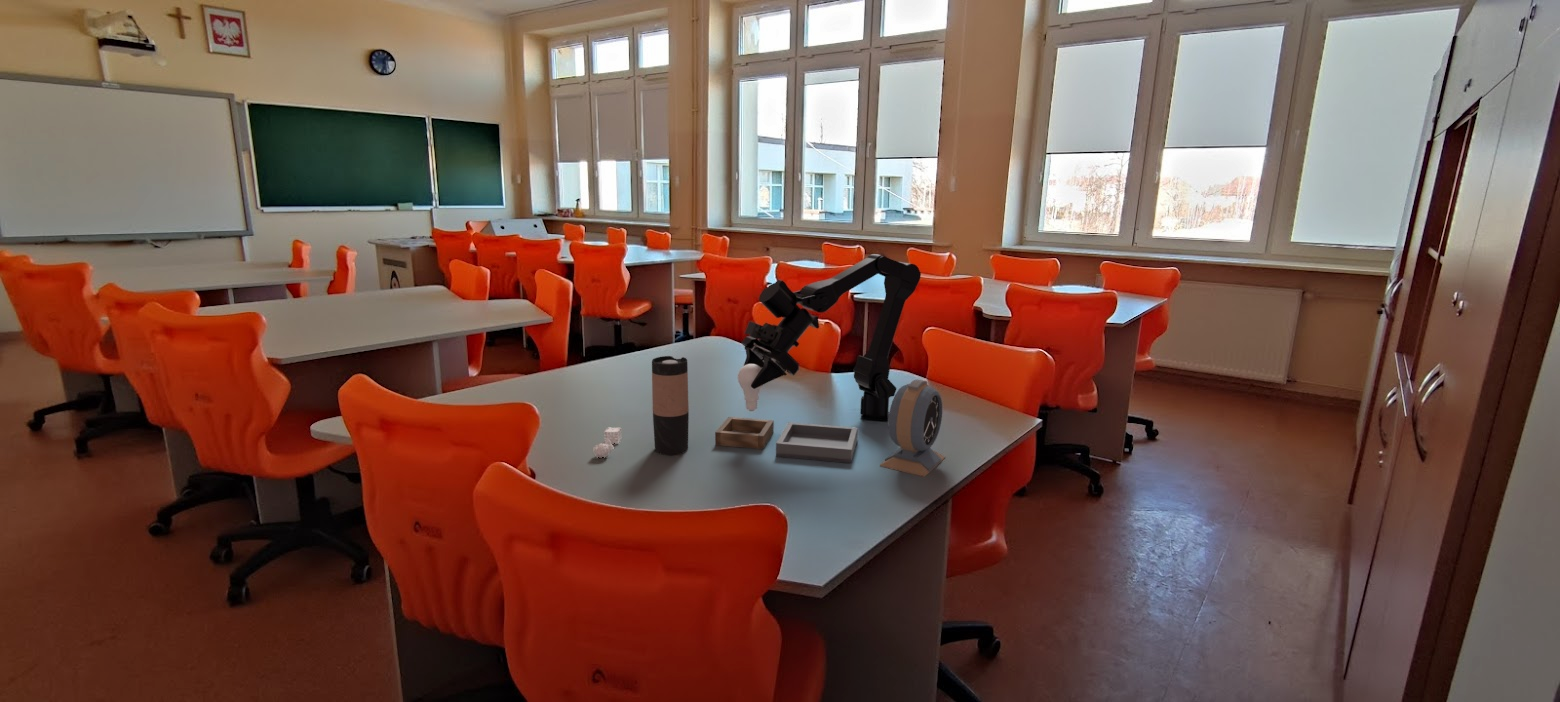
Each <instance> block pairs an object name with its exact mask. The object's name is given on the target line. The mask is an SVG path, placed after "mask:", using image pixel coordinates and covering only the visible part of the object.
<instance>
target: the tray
mask: <svg viewBox="0 0 1560 702" xmlns="http://www.w3.org/2000/svg"><path fill="white" fill-rule="evenodd" d="M858 429H859V428H858V427H853V426H851V427H850V426H841V425H830V424H829V425H827V424H826V425H825V424H817V423H815V424H814V423H801V422H791V421H790V422H787V424H786V426H785V427H784V429H783V430H782V432H781V434H780V435H779V437H778V440H777V441H776V442H775V443H776V444H775V457H777V458H778V457H779V458H786V459H787V458H788V459H789V458H790V459H800V460H810V461H823V462H824V461H825V462H834V463H844V464H845V463H846V464H852V461H853V457H854V454H855V449H856V446H857V442H858Z"/></svg>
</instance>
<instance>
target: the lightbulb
mask: <svg viewBox="0 0 1560 702" xmlns="http://www.w3.org/2000/svg"><path fill="white" fill-rule="evenodd" d="M761 369H762V368H761V367H760V366H758V365H756V364H747V365H745V366H744V365H743V366H741V368H740V369H739V371H738V373H737V382H738V384H739V386H740V388H741V389H742V392H743V396H744V400H745V408H746V410H748V411H749V412H754V411H755V410H757V409H758V402H759V401H758V400H759V397H760V396H759V395H760V391H761V390H762V388H763V386H764V384H763V385H761V386H759V387H757V388H755V389H753V388H752V387H751V384H752V382H753V381H754V379H755V378H756V376H757V375H758V373H759V372H760V370H761Z"/></svg>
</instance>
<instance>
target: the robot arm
mask: <svg viewBox="0 0 1560 702" xmlns="http://www.w3.org/2000/svg"><path fill="white" fill-rule="evenodd" d="M876 275H880V276H883V277H884V280H883V286H884V292H885V296H884V301H883V304H882V307H881V309H880V310H881V311H880V313H879V317H878V319H877V322H876V326H875V328H874V332H873V335H872V339H871V342H870V346H869V347H868V348H869V349H868V350H867V352H865V354H864V355H857V357H856V363H855V365H854V367H853V369H852V371H853V372H854V373H853V379H854V380H855V382H856V384H857V386H858V388H859V390H860V391H862V392H863V396H861V398H860V415H861V419H862V420H870V421H871V420H872V421H881V422H882V421H883V422H889V412H890V408H889V407H890V405H889V404H890V398H892V397H895V395H896V393H897V387H896V386H895V385H894V383H893V382H891V380H890V379H889V375H890V369H891V368H890V363H889V354H890V350H891V348H892V344H893V343H894V342H893V341H894V338H895V335H896V332H897V329H898V325H899V323H900V319H901V317H902V312H903V309H904V306H905V303H906V301H907V300H908V299H909V298H910V297H911V296H912V295H913V293H915V290H916V289H917V286H918V285H919V282H920V280H921V276H922V273H921V270H920V268H919V267H918V265H916V264H915V263H910V262H903V261H896V260H895V259H891V258H889V257H887V256H886V255H883V254H877V253H872V254H868V255H867V257H866V258H864V259H862V260H861V261H859V262H857V263H855V264H854V265H852V266H850V267H849V268H847V269H845V270H843V271H841V272H840V273H839V272H838V273H837V274H836V275H834V276H832V277H830V278H828V279H824V280H818V281H815V282H812V283H809V284H808V283H807V284H806V285H804V286H803V287H802V288H801V289H800V290H797V291H792V290H791V288H790V287H789V286H788V285H787V283H786V282H785V281H784V280H781V279H777V280H776V281H775V282H773V283H771V284H770V285H768V286H767V287H766V288H764V289H763V290H762V291H761V293H760V294H759V296H758V300H759V302H760V303H761V304H762V306H764V307H765V308H766V309H767V310H768V311H769V312H770V313H771V314H772V315H773V316H774V317H775V318H776V319H780V318H782V319H781V320H780V321H779V322H778V323H777V325H776V324H770V323H768V322H765V323H764V324H763V325H762V324H759V323H756V322H753V321H751V320H749V321H748V323H747V326H746V329H745V331H744V335H747V336H745V337H744V338H743V340H742V341H741V342H740V343H741V345H743V346H744V350H745V356H746V357H745V361H744V363H743V366H745V365H747V364H756V365H758V366H760V367H761V368H762V369H761V370H760V372H759V373H758V375H757V376H756V378H755V379H754V381H753V382H752V384H751V387H752V388H753V389H755V388H757V387H759V386H761V385H763V386H764V385H765V384H767V383H769V382H772V381H774V380H776V379H779V378H781V377H783V376H787V375H788V374H789V375H791V376H793V377H795V375H796V374H797V373H798V372H799V370H800V363H799V361H797V360H796V359H795V358H794V357H793V356H792V355H791V354H790V353H789V352H790V350H791V349H792V348H793V347H795V348H797V347H798V346H799V345H800V343H799V341H798V340H799V339H800V338H801V337H802V335H803V334H804V333H805V332H806V330H807V329H808V328H809V327H812V328H814V329H819V328H820V323H819V316H817V315H814V314H813V315H812V314H811V312H809V311H813V312H815V313H820V314H822V313H825V312H827V311H828V310H830V309H831V308H832V307H833V306H834V305H836V304H837V302H838V301H839V299H840V298H841V297H842V296H843V295H844V294H845V293H847V292H849V291H852V289H854V288H855V287H858V286H859V285H861V284H863V283H864V282H867V280H869V279H871V278H873V277H874V276H876ZM799 305H801V307H802V308H801V307H800V306H799ZM808 310H809V311H808ZM786 372H787V373H786Z"/></svg>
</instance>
